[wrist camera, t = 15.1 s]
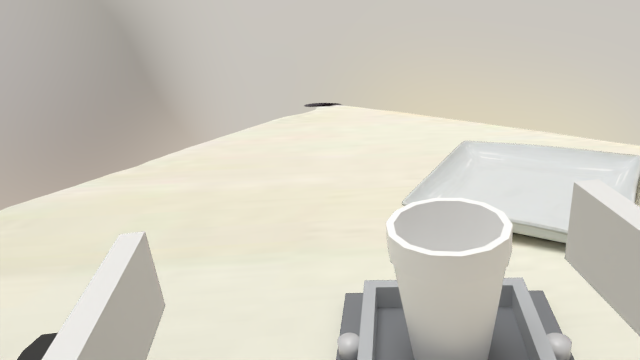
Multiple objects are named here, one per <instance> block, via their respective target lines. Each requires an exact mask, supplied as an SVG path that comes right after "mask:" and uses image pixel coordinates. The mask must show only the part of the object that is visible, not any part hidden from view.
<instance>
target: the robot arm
mask: <svg viewBox="0 0 640 360" xmlns="http://www.w3.org/2000/svg"><path fill="white" fill-rule="evenodd" d="M565 259H566V260H567V261H568V262H569V263H570V264H571V265H572V266H573V268H574V269H575V270H576V271H577V272H578V273H579V274H580V275H581V276H582V277H583V278H584V279H585V280H586V281H587V282H588V283H589V284H590V285H591V286H592V287H593V288H594V289H595V290H596V291H597V292H598V293H599V295H600V296H601V297H602V298H603V299H604V300H605V301H606V302H607V303H608V304H609V305H610V306H611V307H612V308H613V309H614V310H615V311H616V312H617V313H618V314H619V315H620V316H621V317H622V318H623V319H624V320H625V322H626V323H627V324H628V325H629V326H630V327H631V328H632V329H633V330H634V331H635V332H636V333H637V334H638V335H639V336H640V207H639V206H638V205H636V204H635V203H633V202H632V201H630V200H629V199H627V198H626V197H624V196H623V195H621V194H620V193H618V192H617V191H615V190H614V189H612V188H611V187H609V186H608V185H607V184H605V183H604V182H602V181H601V180H599V179H595V180H587V181H578V182H574V186H573V194H572V202H571V210H570V218H569V226H568V235H567V243H566V251H565ZM164 308H165V303H164V299H163V295H162V292H161V288H160V284H159V281H158V277H157V273H156V270H155V266H154V262H153V259H152V255H151V251H150V248H149V244H148V240H147V237H146V233H145V231H144V232H135V233H127V234H119V236H118V238H117V239H116V241H115V242H114V244H113V246H112V247H111V249H110V250H109V252H108V254H107V255H106V257H105V258H104V260H103V262H102V263H101V265H100V266H99V268H98V270H97V271H96V273H95V274H94V276H93V278H92V279H91V281H90V282H89V284H88V286H87V287H86V289H85V291H84V292H83V294H82V295H81V297H80V299H79V300H78V302H77V303H76V305H75V307H74V308H73V310H72V311H71V313H70V315H69V316H68V318H67V319H66V321H65V323H64V324H63V326H62V327H61V329H60V331H59V332H58V333H52V334H44V335H41V336H40V337H39V338H38V339H36V340H35V341H34V342H33V343H32V344H31V345H29V346H28V347H27V348H26V349H25V350H24V351H23V352H22V353H21V355H20V356H19V358H18V359H17V360H146V359H147V356H148V353H149V350H150V347H151V345H152V342H153V339H154V336H155V333H156V330H157V328H158V325H159V322H160V319H161V316H162V314H163V311H164Z"/></svg>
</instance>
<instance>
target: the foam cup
mask: <svg viewBox="0 0 640 360" xmlns="http://www.w3.org/2000/svg"><path fill="white" fill-rule="evenodd" d="M386 231H387V245H388V252H389V257H390V262H391V263H392V264H393V265H394V269H395V273H396V278H397V282H398V287H399V292H400V296H401V301H402V305H403V310H404V314H405V319H406V324H407V328H408V333H409V337H410V342H411V346H412V351H413V356H414V359H415V360H488V355H489V351H490V346H491V341H492V336H493V331H494V325H495V320H496V315H497V310H498V305H499V300H500V295H501V290H502V285H503V280H504V274H505V269H506V267H507V266H508V263H509V260H510V256H511V253H512V232H513V224H512V223H511V221H510V220H509V219H508V217H507V216H506V214H505V213H504V212H503V211H501V210H499V209H497V208H495V207H493V206H491V205H489V204H487V203H484V202H479V201H474V200H469V199H464V198H432V199H427V200H422V201H417V202H412V203H410V204H408V205H406V206H404V207H402V208H400V209H398V210H396V211H394V213H393V214H392V215H391V217H390V218H389V219H388V221H387V222H386Z"/></svg>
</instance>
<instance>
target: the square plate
mask: <svg viewBox="0 0 640 360" xmlns="http://www.w3.org/2000/svg"><path fill="white" fill-rule="evenodd" d="M639 178H640V156H639V155H630V154H620V153H611V152H602V151H593V150H584V149H574V148H564V147H553V146H540V145H527V144H512V143H495V142H478V141H464V142H462V143H461V144H460V145H459V146H457V147H456V148H455V149H454V150H453V151H452V152H451V153H450V154H449V155H448V156H447V157H446V158H445V159H444V160H443V161H442V162H441V163H440V164H439V165H438V166H437V167H436V168H435V169H434V170H433V171H432V172H431V173H430V174H429V175H428V176H427V177H426V178H425V179H424V180H423V181H422V182H421V183H420V184H419V185H418V186H417V187H416V188H415V189H414V190H413V191H412V192H411V193H410V194H409V195H408V196H407V197H406V198H405V199H404V200H403V201H402V205H403V206H406V205H408V204H410V203H412V202H417V201H422V200H427V199H432V198H464V199H469V200H474V201H479V202H484V203H487V204H489V205H491V206H493V207H495V208H497V209H499V210H501V211H503V212H504V213H505V214H506V216H507V217H508V219H509V220H510V221H511V223H512V224H513V233H518V234H523V235H528V236H533V237H538V238H543V239H547V240H552V241H557V242H562V243H567V235H568V226H569V218H570V210H571V202H572V194H573V186H574V182H578V181H587V180H595V179H599V180H601V181H602V182H604V183H605V184H607V185H608V186H609V187H611V188H612V189H614V190H615V191H617V192H618V193H620V194H621V195H623V196H624V197H626V198H627V199H629V200H630V201H632V202H633V203H635V199H636V192H637V186H638V182H639Z"/></svg>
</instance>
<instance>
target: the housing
mask: <svg viewBox="0 0 640 360" xmlns="http://www.w3.org/2000/svg"><path fill="white" fill-rule="evenodd" d="M571 345H572V342H571V340H570V339H569V338H568V337H567V336H566V335H564V334H562V332H561V329H560V327H559V325H558V323H557V321H556V319H555V316H554V314H553V312H552V310H551V308H550V306H549V303H548V301H547V299H546V297H545V295H544V292H543V291H528V289H527V287H526V284H525V282H524V279H523V278H504V280H503V285H502V290H501V295H500V300H499V305H498V310H497V315H496V320H495V325H494V331H493V336H492V341H491V346H490V351H489V355H488V360H574V358H573V356H572V353H571ZM336 360H415V359H414V356H413V351H412V346H411V342H410V337H409V333H408V328H407V324H406V319H405V314H404V310H403V305H402V301H401V296H400V292H399V287H398V282H397V280H366V281H364V292H363V293H346V295H345V302H344V309H343V316H342V323H341V329H340V336H339V338H338V350H337V357H336Z"/></svg>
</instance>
